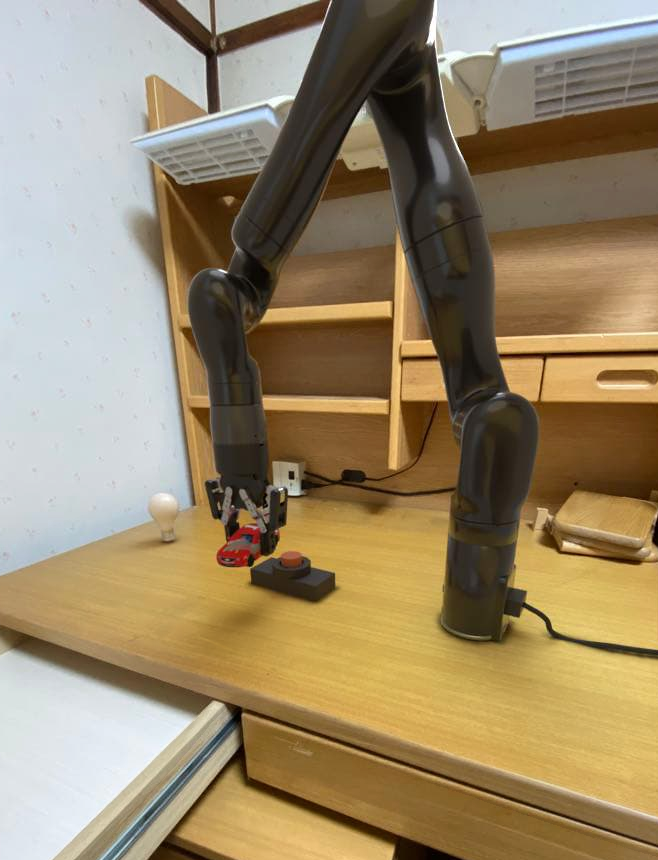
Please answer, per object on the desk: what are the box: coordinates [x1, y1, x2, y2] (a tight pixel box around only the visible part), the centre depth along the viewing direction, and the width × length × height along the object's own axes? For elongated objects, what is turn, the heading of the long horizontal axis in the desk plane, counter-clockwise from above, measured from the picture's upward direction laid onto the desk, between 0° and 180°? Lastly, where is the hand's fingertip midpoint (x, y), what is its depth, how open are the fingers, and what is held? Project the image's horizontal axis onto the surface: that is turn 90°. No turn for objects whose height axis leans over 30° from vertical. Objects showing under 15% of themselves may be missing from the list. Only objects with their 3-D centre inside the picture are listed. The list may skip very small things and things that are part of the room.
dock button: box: [280, 550, 303, 567], centre depth 79 cm, size 4×4×2 cm
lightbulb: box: [147, 492, 180, 543], centre depth 100 cm, size 6×6×11 cm
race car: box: [215, 522, 281, 568], centre depth 69 cm, size 13×5×4 cm, turn 160°
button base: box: [249, 555, 336, 603], centre depth 80 cm, size 14×6×4 cm, turn 59°
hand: (251, 550), depth 69 cm, fingers closed on race car, 6 cm apart
